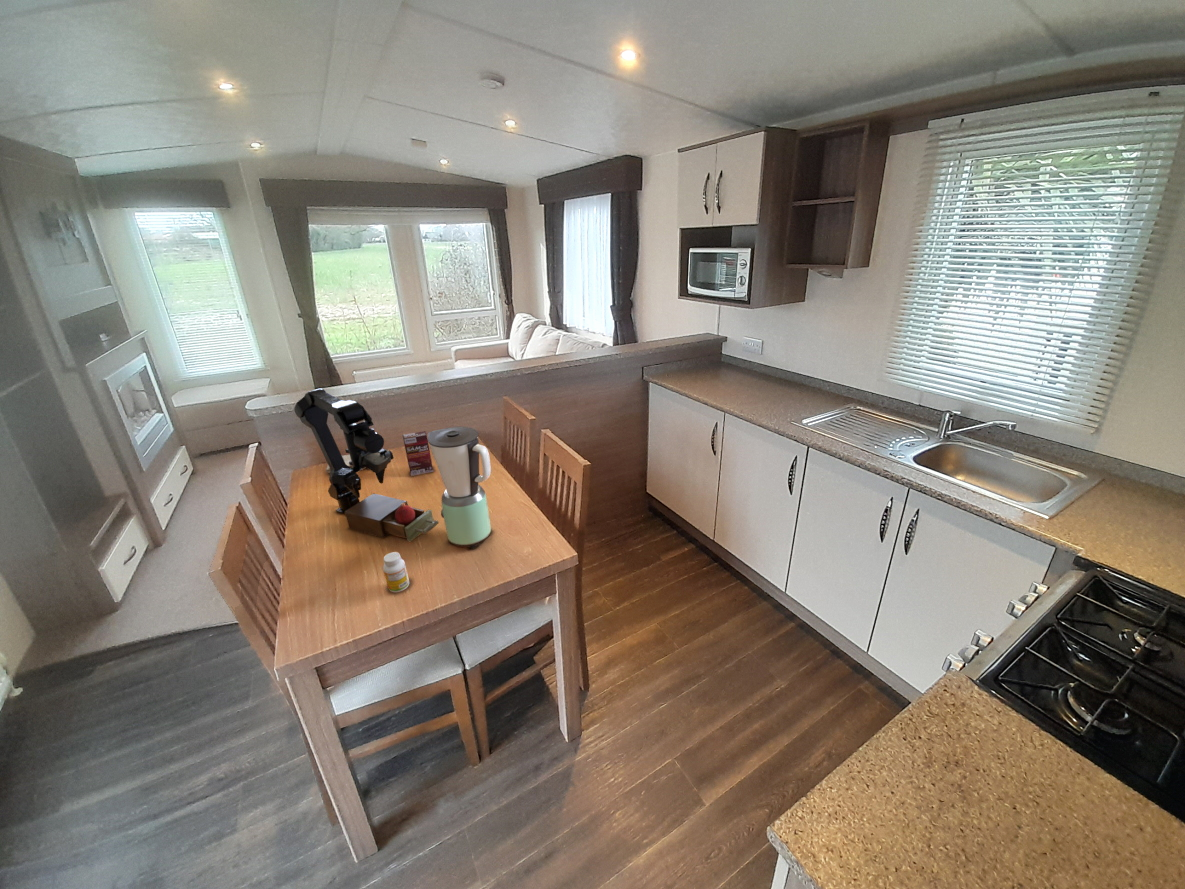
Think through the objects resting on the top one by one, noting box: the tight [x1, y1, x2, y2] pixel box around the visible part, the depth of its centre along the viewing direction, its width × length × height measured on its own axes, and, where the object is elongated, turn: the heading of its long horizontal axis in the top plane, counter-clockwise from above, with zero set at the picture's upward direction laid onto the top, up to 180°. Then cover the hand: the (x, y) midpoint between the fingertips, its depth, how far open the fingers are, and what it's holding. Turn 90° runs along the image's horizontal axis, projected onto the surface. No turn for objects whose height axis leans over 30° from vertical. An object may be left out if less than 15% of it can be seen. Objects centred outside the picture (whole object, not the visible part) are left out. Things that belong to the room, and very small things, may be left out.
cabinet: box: [344, 493, 409, 539], centre depth 153 cm, size 14×12×6 cm
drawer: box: [381, 507, 439, 542], centre depth 148 cm, size 18×11×5 cm, turn 67°
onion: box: [395, 503, 415, 526], centre depth 148 cm, size 6×6×8 cm
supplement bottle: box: [382, 551, 410, 593], centre depth 125 cm, size 5×5×10 cm
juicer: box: [427, 426, 492, 550], centre depth 138 cm, size 19×13×35 cm
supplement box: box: [402, 430, 434, 477], centre depth 183 cm, size 9×5×16 cm, turn 113°
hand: (370, 490), depth 148 cm, fingers open, 9 cm apart
